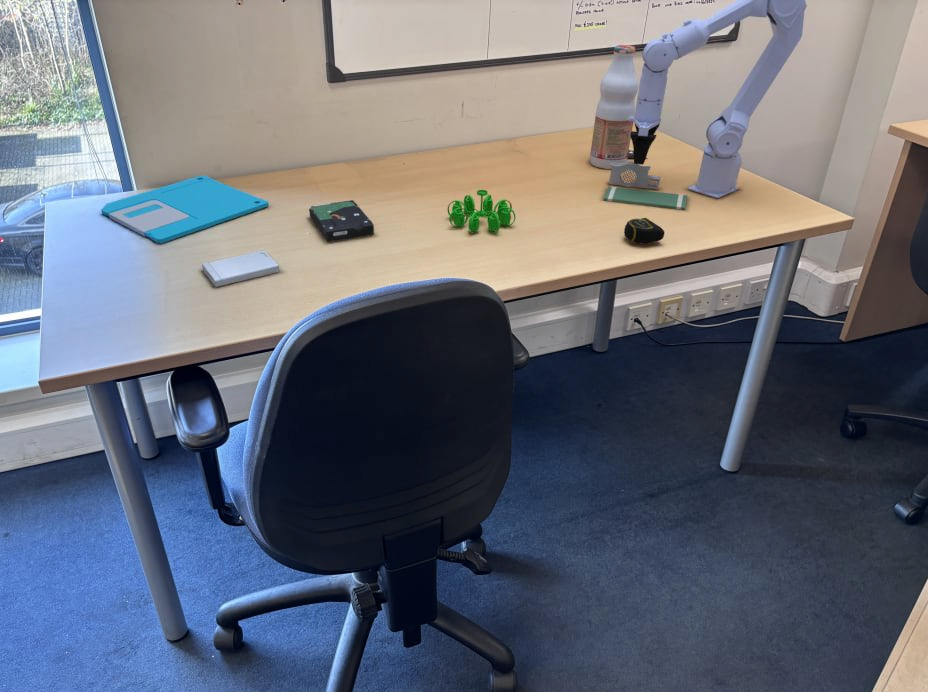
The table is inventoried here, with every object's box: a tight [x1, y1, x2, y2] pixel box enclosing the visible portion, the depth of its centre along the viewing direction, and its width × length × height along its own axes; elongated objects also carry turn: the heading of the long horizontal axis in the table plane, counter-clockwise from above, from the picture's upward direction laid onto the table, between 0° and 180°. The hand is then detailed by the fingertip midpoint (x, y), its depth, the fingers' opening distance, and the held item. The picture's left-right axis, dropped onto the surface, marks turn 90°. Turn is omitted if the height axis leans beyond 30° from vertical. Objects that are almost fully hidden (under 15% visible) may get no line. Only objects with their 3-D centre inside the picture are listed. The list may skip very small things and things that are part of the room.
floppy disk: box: [100, 174, 270, 244], centre depth 166 cm, size 26×28×1 cm
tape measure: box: [623, 217, 665, 245], centre depth 151 cm, size 7×7×4 cm
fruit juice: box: [589, 44, 640, 170], centre depth 184 cm, size 9×9×28 cm
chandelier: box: [447, 189, 517, 234], centre depth 158 cm, size 15×15×7 cm
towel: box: [603, 186, 688, 211], centre depth 171 cm, size 8×18×1 cm, turn 71°
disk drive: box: [308, 199, 375, 243], centre depth 158 cm, size 10×3×15 cm
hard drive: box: [201, 250, 281, 288], centre depth 141 cm, size 2×8×12 cm
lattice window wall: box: [608, 161, 662, 190], centre depth 176 cm, size 12×2×6 cm, turn 71°
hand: (640, 158), depth 174 cm, fingers open, 7 cm apart
